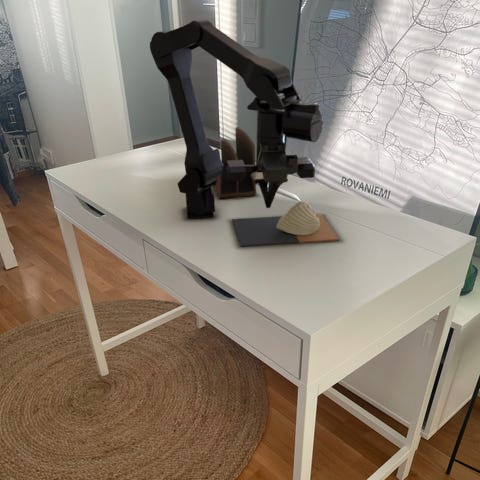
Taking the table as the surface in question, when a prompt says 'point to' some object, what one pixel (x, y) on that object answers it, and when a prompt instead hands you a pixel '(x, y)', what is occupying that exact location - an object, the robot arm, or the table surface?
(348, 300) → the table surface
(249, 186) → the letter holder
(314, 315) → the table surface
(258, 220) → the desk pad
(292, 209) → the seashell
